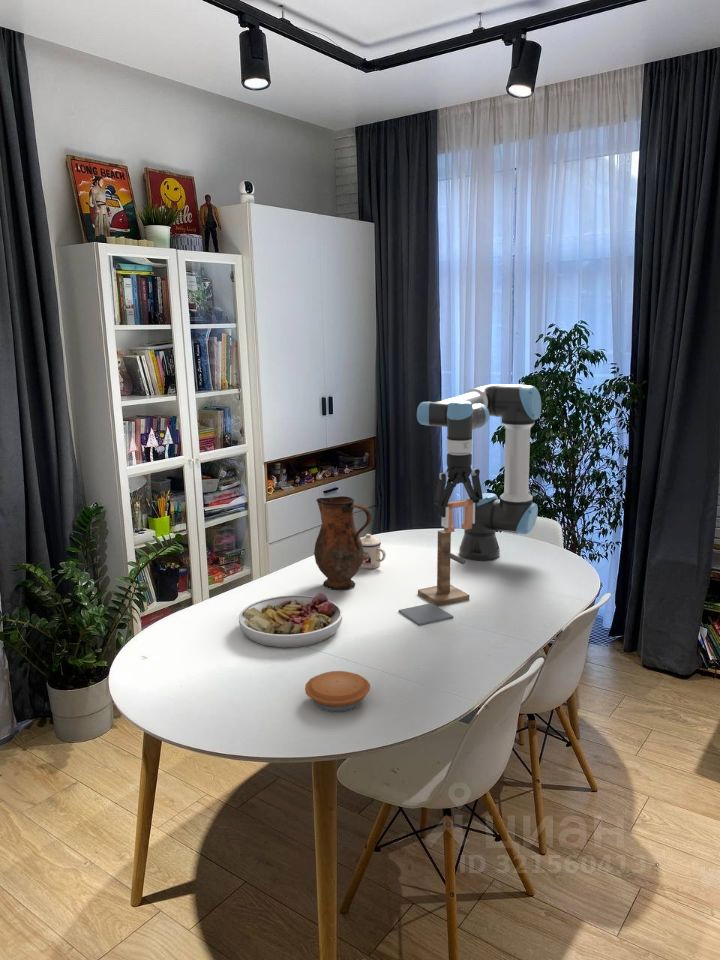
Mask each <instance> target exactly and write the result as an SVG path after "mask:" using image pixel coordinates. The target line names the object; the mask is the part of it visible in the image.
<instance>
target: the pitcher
mask: <svg viewBox="0 0 720 960" xmlns="http://www.w3.org/2000/svg"><path fill="white" fill-rule="evenodd" d="M316 502H317V505H318V509H319V512H320V518H321V519H320V520H321V526H320V530H319V532H318V536H317V538H316V541H315V545H314V549H313V550H314V552H313V555H314V560H315V565H316V566H317V567H318V569H319V571H320V572H321V573H322V574H323V575H324V576H325V577H326V579H325V580H324V581H323V586H324V587H325V588H327V589H329V590H332V591H348V590H351V589H354V588H355V587H356V582H355V581H354V580H352V578H353V577H354V576H356V575H357V573H358V572H359V570H360V566H361V564H362V562H363V556H364V549H363V545H362V541H361V537H360V533H362V531H363V530H365V528H367V527H368V526H369V525H370V524H371V521H372V513H371V511H370V509H369V508H368V507H367V506H365V505H363V504H360V503H358V504H356V503H355V504H354V502H355V499H354V498H352V497H349V496H343V495H341V496H333V497H332V496H331V497H319V498H317V499H316ZM354 508H357V509H360V510H361V511H363V512H364V513H365V515H366V521H365V523H364V524H363V526H362V527H361V528H360V529H358V530H357V527H356V524H355V518H354Z"/></svg>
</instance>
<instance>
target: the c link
mask: <svg viewBox="0 0 720 960" xmlns="http://www.w3.org/2000/svg"><path fill="white" fill-rule="evenodd" d="M472 505H473V500H470V499H466V498H465V499H461V500H454V501H448V503H447V507H449V523H448V528H445V527H443V530H444V531H445V532H447V533H449V532H451V533H454V532H455V531H456V530H455V529H456V528H455V526H453V509H457V508H463V507H464V508H465V509H464V522H463V523H461V529H463V530H464V529H465V530H467V529H472Z"/></svg>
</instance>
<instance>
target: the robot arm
mask: <svg viewBox="0 0 720 960" xmlns="http://www.w3.org/2000/svg"><path fill="white" fill-rule="evenodd" d="M541 398H542V397H541V394H540V392H539V389H537V387H536V386H534V385H530V384H529V385H527V384H516V383H515V384H514V383H513V384H508V383H507V384H506V383H504V384H503V383H501V384H500V383H491V384H485V385H481V386H477V387H474V388H471V389H468V390H466V392H464V394H460V395H457V396H454V397H449V398H446V399H443V400H439V401H438V400H437V401H422V402H420V403H419V405H418V407H417V409H416V410H417V411H416V418H417V419H416V420H417V422H418V423H419V424H420V425H421V426H422V425H424V426H428V427H433V426H434V427H445V428H446V427H447V428H446V433H447V436H446V452H448V453H446V466H447V467H446V468H447V469H446V471H444V472H438V473H437V478H438V481H437V484H436V490H435V495H434V499H433V504H434V505H436V506H438V507H439V516H440V517H441V527H443V528H444V527H445V528H448V523H449V507H447V503H448V502H450V501H449V500H450V498H451V496H452V494H453V492H454V490H455V489H454V488H456V487H457V485H458V484H459V485H460V484H463V487H464V489H465V492H466V493H467V495H468V496H467V497H466V498H465V500H466V499H470V500H473V505H472V529H467V530H465V529H463V530H464V532H463V533H464V535H463V537H462V540H461V542H460V543H461V544H460V545H459V556H461V558H463V559H464V558H465V559H468V560H473V561H489V560H494V559H495V560H496V559H497V558H498V557H500V553H501V550H500V546H499V543H498V539H497V537H496V536H497V535H496V534H497V533H496V532H497V531H499V532H503V533H511V534H515V535H528V534H530V533H531V532H532V531H533V529H534V527H535V525H536V522H537V519H538V511H539V508H538V504H537V503H535V502H533V496H532V495H531V494H530V493H529V484H530V478H529V477H530V455H531V454H530V451H531V450H530V447H531V428H532V427H533V426H534V425H535V423H536V420H538V419H539V418H540V416H541V414H542V413H541V412H542V399H541ZM490 417H496V418H501V424H502V425H503V427H504V428H505V444H504V445H505V446H504V448H505V449H504V482H503V483H504V486H503V487H504V489H503V490H504V491H503V493H501V495H500V496H499V498H498V495H497V494H495V493H493V492H484V493H483V491H482V485H481V481H480V472H481V471H480V470H481V469H479V468H475V467H471V466H472V464H473V460H472V459H473V455H472V452H473V430H476V429H480V428H481V427H483V426H485V425H486V424H487V423H488V422H489V419H490ZM470 476H471V479H470ZM463 510H465V507H464V509H463Z"/></svg>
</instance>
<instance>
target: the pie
mask: <svg viewBox="0 0 720 960" xmlns="http://www.w3.org/2000/svg"><path fill="white" fill-rule="evenodd" d="M370 689H371V684H370V682H369V681H368V680H367V679H366V678H365V677H364V676H362V675H360V674H357V673H355V672H351V671H350V672H349V671H344V670H333V671H327V672H323V673H320V674H317V675H314V676H312V677H311V678H310V679H309V680H308V681H307V682H306V684H305V686H304V691H305V694H306V695H307V696H308V697H309V698H310V699H311V701H312V702H313V704H314V705H315V706H316V707H317V708H318V709H321V710H322V711H326V712H332V713H345V712H349V711H351V710H353V709H356V708H357V707H358V706H360V704H361V703H362V701H363V700H364V698H365V697H366V696H367V694H368V693H369V692H370Z"/></svg>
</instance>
